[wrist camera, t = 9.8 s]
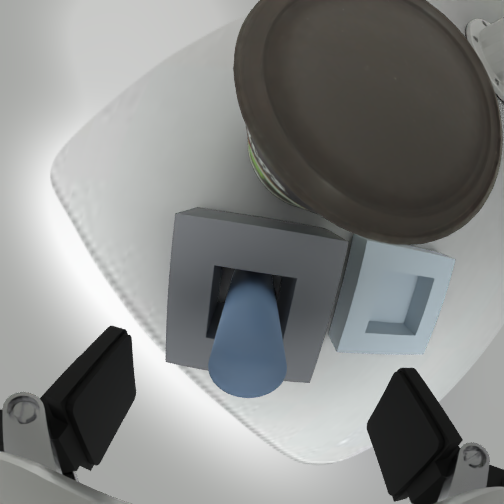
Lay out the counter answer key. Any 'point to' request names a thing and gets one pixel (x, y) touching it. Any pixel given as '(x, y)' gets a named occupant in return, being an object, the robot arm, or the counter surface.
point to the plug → (249, 338)
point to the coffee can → (369, 115)
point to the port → (257, 260)
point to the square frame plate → (389, 298)
